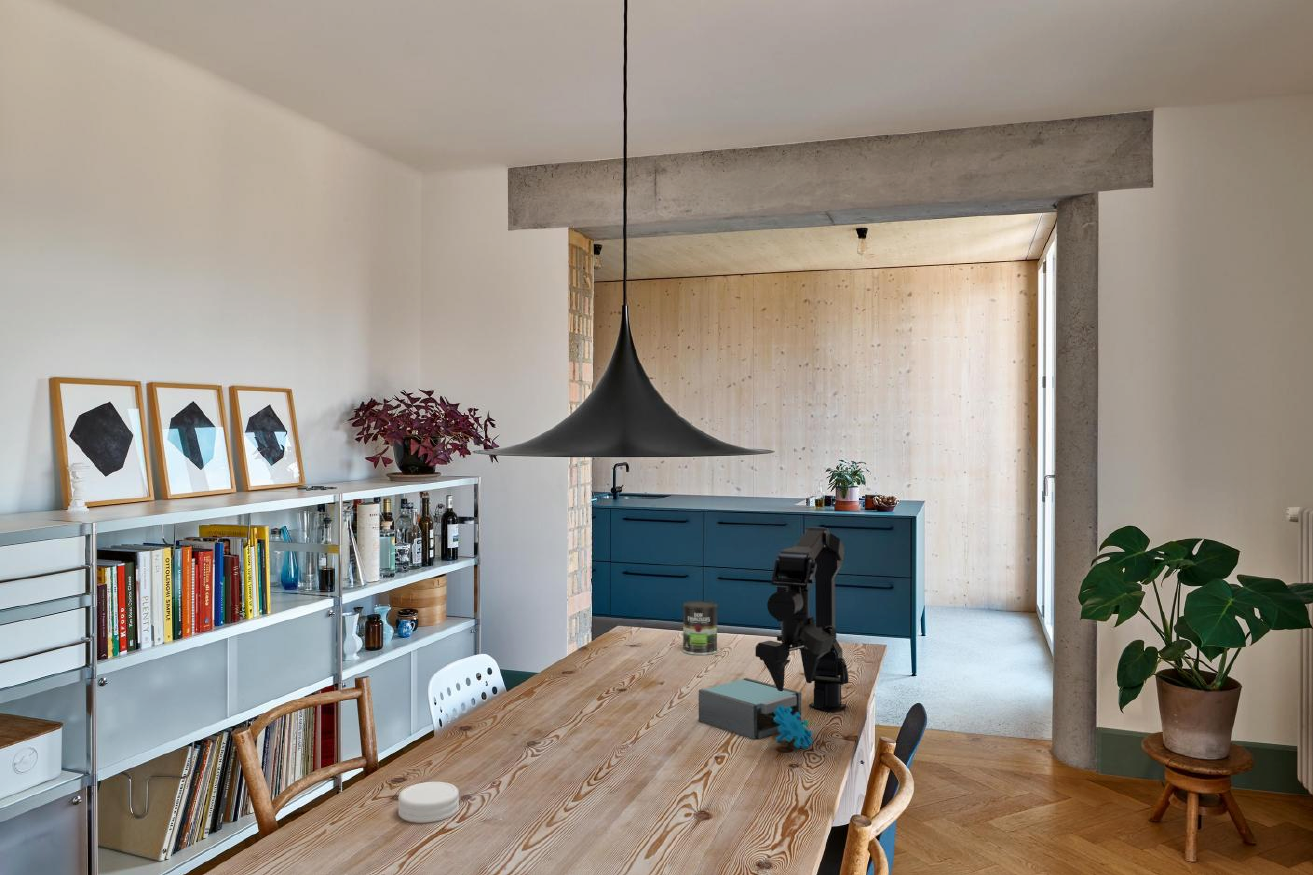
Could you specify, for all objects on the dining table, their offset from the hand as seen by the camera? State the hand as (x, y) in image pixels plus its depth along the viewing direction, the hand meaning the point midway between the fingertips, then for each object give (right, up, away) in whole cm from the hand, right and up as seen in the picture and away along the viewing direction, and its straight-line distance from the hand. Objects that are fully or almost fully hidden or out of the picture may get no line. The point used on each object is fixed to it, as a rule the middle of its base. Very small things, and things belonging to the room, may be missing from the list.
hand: (794, 686), depth 189 cm
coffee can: (-16, -12, +82) cm, 84 cm away
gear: (0, -12, 0) cm, 12 cm away
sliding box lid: (-8, -7, +14) cm, 17 cm away
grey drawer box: (-8, -12, +14) cm, 20 cm away
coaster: (-67, -12, -34) cm, 77 cm away
